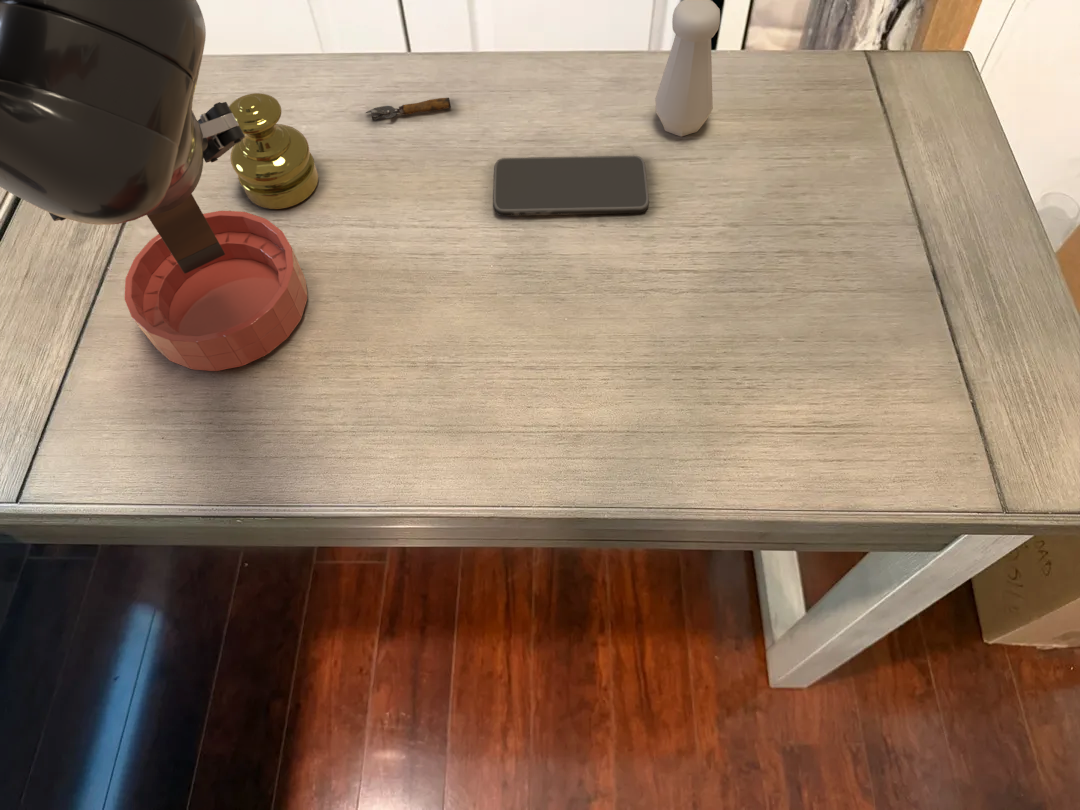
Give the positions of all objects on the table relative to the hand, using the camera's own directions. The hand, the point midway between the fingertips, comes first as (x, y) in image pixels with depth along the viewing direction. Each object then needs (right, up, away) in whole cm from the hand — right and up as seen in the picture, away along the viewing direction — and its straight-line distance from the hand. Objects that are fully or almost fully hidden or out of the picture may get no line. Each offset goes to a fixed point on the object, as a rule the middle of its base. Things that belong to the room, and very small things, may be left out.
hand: (152, 175), depth 62 cm
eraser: (+1, -4, +4) cm, 6 cm away
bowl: (+1, -9, +12) cm, 15 cm away
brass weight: (+4, +5, +20) cm, 20 cm away
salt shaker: (+44, +12, +22) cm, 51 cm away
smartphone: (+33, +4, +18) cm, 37 cm away
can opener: (+16, +13, +24) cm, 32 cm away
